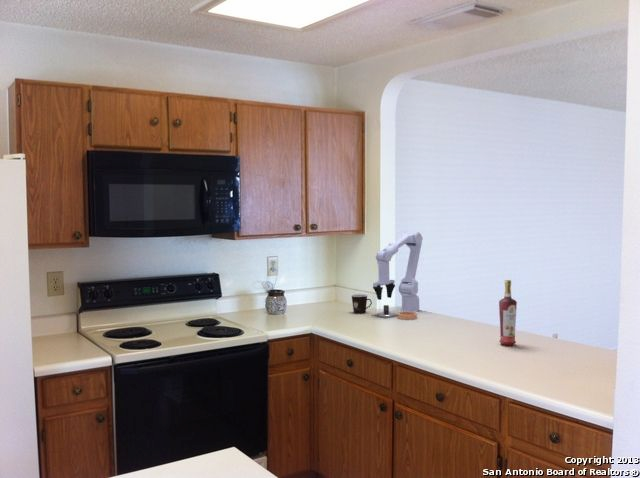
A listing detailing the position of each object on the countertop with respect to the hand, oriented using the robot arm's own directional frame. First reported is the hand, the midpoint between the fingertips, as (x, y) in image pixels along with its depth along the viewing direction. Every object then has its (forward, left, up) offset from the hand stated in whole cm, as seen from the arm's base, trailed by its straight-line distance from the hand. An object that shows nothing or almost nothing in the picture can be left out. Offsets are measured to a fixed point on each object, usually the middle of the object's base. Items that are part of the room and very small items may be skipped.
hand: (384, 298), depth 334 cm
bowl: (-5, +12, -10) cm, 17 cm away
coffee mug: (+5, -14, -10) cm, 18 cm away
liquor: (-1, +79, -10) cm, 80 cm away
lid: (-1, 0, -9) cm, 9 cm away
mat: (-1, 0, -10) cm, 10 cm away
